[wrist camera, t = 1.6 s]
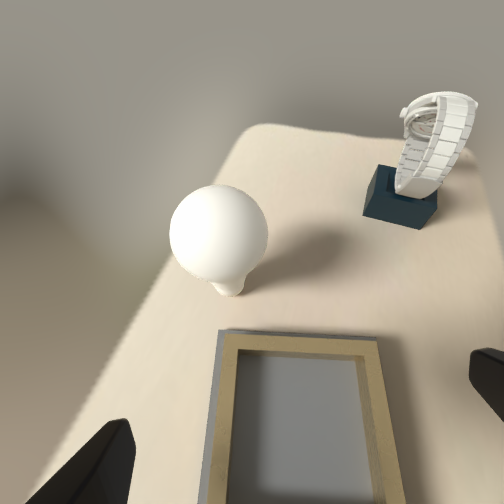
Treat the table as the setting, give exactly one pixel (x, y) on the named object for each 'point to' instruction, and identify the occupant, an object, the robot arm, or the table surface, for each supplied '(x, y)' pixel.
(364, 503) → the socket plate
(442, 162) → the watch
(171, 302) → the table surface
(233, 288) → the lightbulb
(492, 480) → the table surface
